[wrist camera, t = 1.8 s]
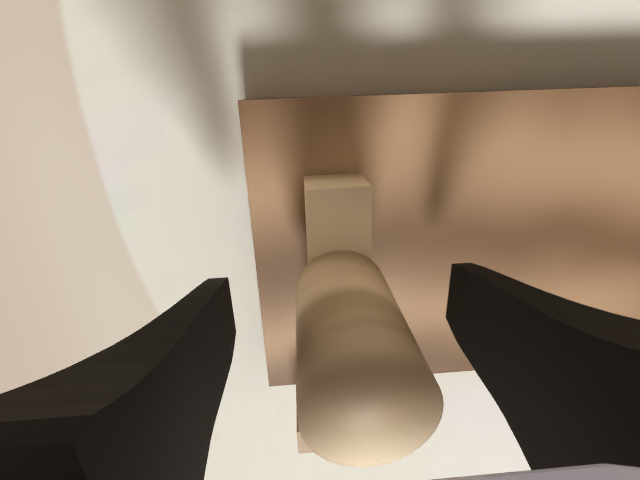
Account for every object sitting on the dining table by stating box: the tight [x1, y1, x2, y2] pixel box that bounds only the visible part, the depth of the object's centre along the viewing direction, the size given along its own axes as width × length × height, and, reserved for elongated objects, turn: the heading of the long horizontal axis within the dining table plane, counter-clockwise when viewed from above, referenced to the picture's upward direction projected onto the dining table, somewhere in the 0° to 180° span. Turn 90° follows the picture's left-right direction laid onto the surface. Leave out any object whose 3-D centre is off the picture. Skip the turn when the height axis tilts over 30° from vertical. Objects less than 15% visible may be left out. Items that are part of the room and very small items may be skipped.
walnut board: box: [238, 86, 640, 386], centre depth 15 cm, size 12×20×2 cm, turn 92°
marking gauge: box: [295, 173, 443, 467], centre depth 12 cm, size 11×4×9 cm, turn 2°
